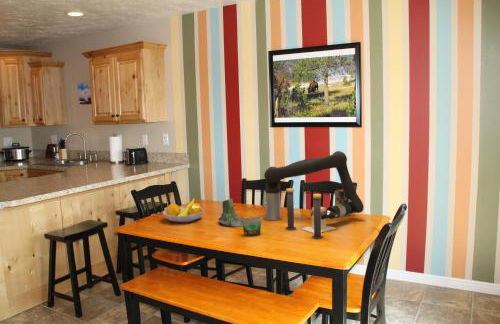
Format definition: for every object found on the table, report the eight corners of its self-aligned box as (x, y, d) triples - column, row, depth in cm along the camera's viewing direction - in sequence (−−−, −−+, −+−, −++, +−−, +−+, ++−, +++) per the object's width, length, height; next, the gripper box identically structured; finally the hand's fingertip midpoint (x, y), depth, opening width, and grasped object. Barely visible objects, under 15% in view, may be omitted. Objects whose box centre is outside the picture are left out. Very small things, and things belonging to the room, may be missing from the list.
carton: (311, 228, 241) (311, 207, 239) (318, 226, 244) (318, 206, 242) (318, 230, 236) (318, 209, 235) (325, 228, 239) (325, 207, 238)
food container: (244, 237, 228) (243, 220, 227) (241, 234, 234) (240, 217, 233) (265, 235, 232) (265, 217, 230) (262, 232, 238) (261, 215, 236)
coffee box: (351, 214, 272) (351, 190, 270) (348, 216, 266) (348, 191, 264) (337, 213, 276) (337, 189, 274) (334, 215, 270) (334, 190, 268)
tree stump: (244, 229, 246) (235, 200, 245) (215, 234, 254) (207, 206, 253) (255, 220, 263) (248, 193, 261) (228, 225, 271) (220, 198, 270)
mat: (301, 229, 241) (301, 228, 240) (321, 224, 250) (321, 223, 250) (315, 234, 231) (315, 233, 231) (336, 228, 240) (336, 227, 240)
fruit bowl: (184, 227, 252) (183, 209, 251) (154, 221, 269) (153, 204, 267) (215, 217, 274) (214, 200, 273) (185, 212, 291) (185, 196, 289)
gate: (283, 228, 243) (282, 188, 240) (291, 226, 247) (290, 187, 244) (317, 240, 221) (316, 196, 218) (325, 237, 224) (325, 194, 221)
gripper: (327, 203, 253) (307, 207, 244) (345, 207, 241) (325, 212, 232) (327, 215, 254) (307, 220, 244) (345, 220, 242) (325, 225, 233)
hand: (316, 216), depth 238 cm, fingers open, 8 cm apart
